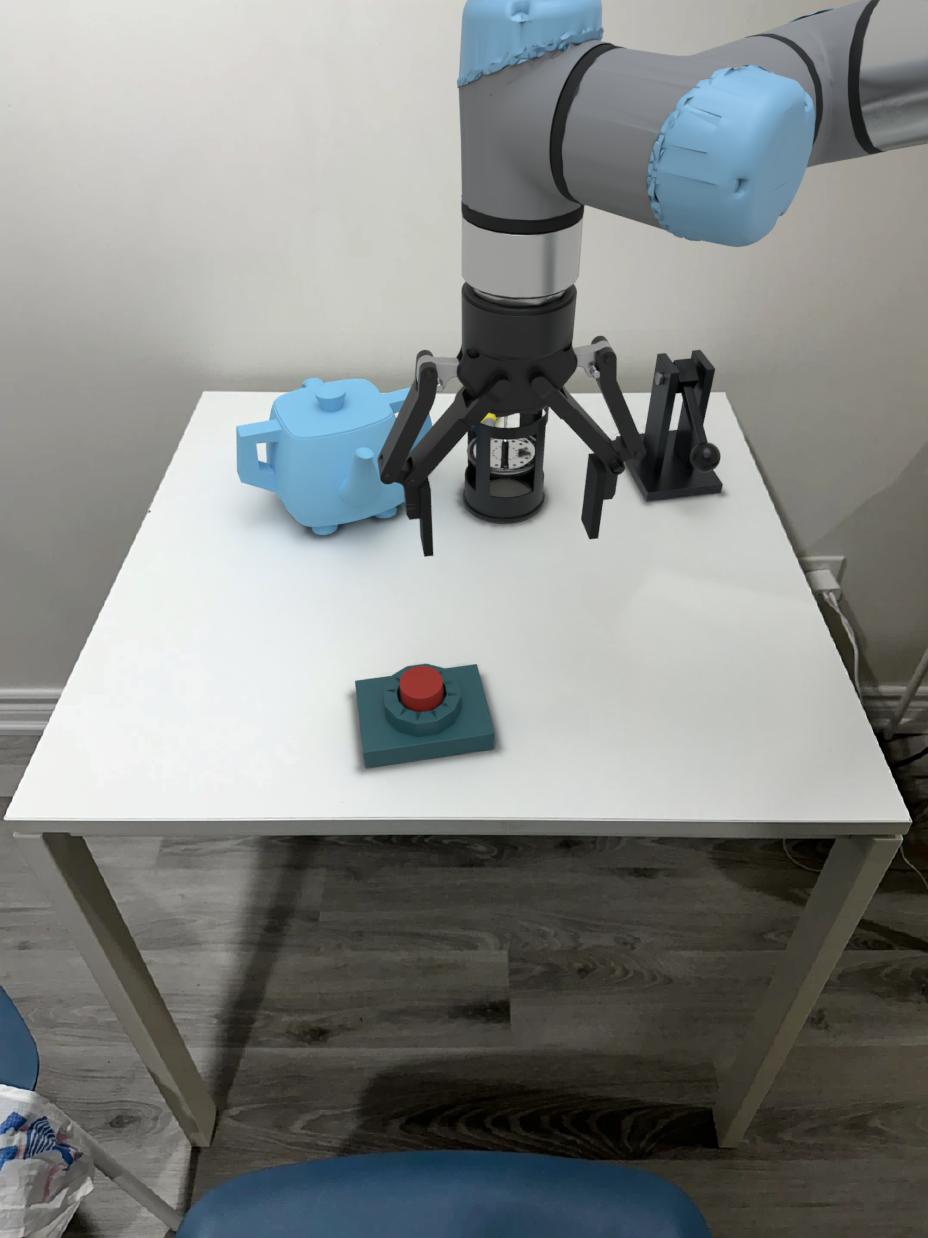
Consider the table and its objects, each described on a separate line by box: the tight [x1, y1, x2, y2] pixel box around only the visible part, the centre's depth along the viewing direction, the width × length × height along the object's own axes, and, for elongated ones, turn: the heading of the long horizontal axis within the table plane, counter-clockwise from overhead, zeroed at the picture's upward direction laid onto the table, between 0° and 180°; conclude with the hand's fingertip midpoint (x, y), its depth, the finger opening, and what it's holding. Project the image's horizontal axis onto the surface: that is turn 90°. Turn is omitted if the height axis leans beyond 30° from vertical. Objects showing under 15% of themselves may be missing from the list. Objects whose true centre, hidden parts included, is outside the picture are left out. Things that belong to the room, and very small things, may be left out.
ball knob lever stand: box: [615, 349, 724, 502], centre depth 97 cm, size 12×9×14 cm
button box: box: [354, 663, 496, 769], centre depth 73 cm, size 8×11×4 cm
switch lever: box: [672, 357, 722, 473], centre depth 92 cm, size 13×3×3 cm, turn 10°
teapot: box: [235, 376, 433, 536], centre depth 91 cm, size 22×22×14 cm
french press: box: [462, 405, 550, 524], centre depth 90 cm, size 12×9×23 cm
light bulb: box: [481, 413, 497, 427], centre depth 108 cm, size 3×6×4 cm, turn 4°
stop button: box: [400, 666, 443, 712], centre depth 71 cm, size 4×4×2 cm
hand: (508, 537), depth 70 cm, fingers open, 13 cm apart
